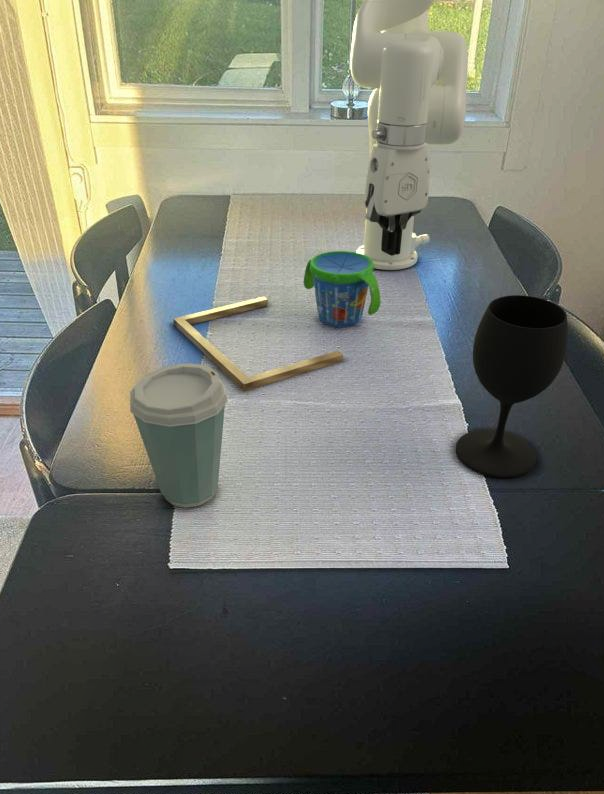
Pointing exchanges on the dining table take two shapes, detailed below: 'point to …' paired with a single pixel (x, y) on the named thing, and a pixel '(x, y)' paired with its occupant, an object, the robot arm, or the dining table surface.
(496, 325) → the wine glass
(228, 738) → the dining table surface
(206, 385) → the disposable coffee cup
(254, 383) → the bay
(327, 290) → the snack cup
